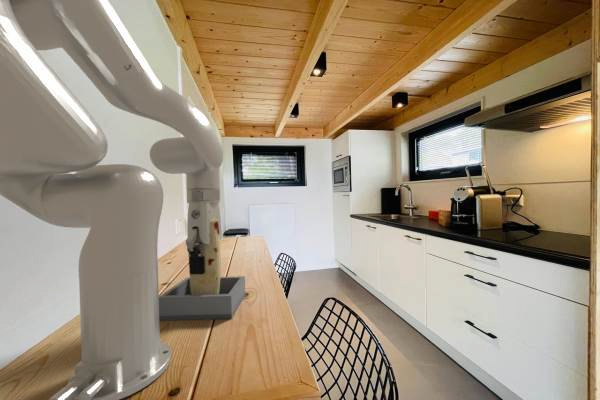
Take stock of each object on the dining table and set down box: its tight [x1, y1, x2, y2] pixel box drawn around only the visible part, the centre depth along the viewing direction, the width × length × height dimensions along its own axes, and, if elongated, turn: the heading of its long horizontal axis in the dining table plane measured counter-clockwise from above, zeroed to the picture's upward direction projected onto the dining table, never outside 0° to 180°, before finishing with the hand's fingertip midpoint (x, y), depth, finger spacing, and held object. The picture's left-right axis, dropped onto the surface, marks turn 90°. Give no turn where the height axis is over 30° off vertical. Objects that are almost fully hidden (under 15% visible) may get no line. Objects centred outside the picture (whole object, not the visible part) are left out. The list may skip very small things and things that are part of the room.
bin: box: [159, 275, 246, 321], centre depth 58 cm, size 13×16×5 cm
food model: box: [188, 217, 222, 295], centre depth 58 cm, size 10×7×20 cm
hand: (205, 267), depth 58 cm, fingers open, 8 cm apart
